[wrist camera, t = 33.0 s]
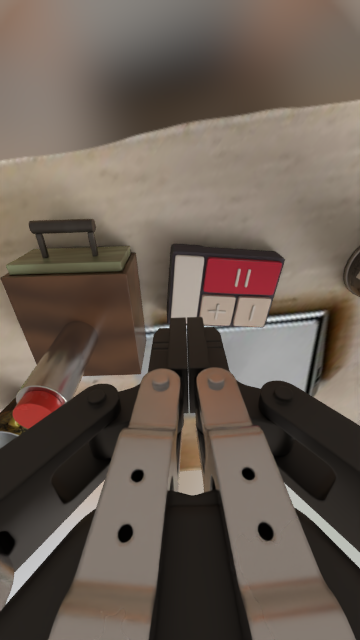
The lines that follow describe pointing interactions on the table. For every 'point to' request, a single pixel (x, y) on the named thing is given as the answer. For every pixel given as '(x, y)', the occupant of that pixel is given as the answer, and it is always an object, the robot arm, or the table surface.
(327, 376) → the table surface
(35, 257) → the drawer
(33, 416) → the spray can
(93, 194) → the table surface
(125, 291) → the cabinet
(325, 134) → the table surface
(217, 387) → the robot arm
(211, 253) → the calculator
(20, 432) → the ceramic cup
